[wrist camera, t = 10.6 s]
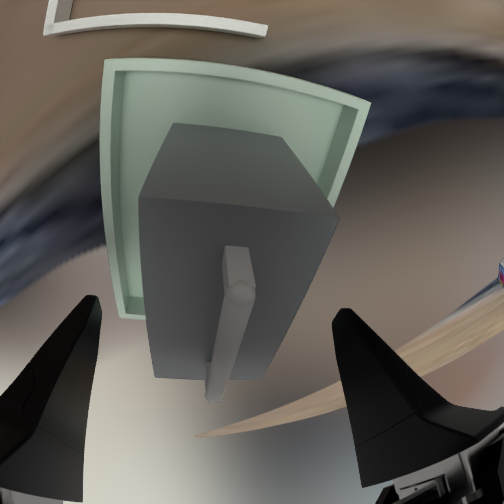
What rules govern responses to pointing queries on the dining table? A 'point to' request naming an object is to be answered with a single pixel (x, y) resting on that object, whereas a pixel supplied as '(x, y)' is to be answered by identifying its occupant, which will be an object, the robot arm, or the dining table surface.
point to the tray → (208, 114)
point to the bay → (142, 22)
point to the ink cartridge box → (501, 273)
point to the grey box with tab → (226, 251)
